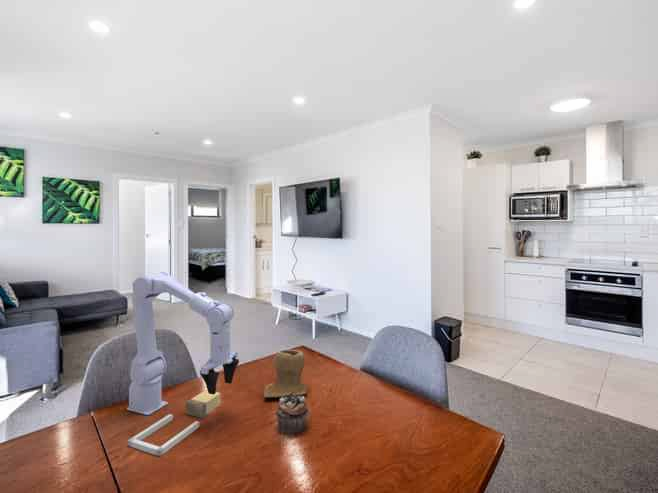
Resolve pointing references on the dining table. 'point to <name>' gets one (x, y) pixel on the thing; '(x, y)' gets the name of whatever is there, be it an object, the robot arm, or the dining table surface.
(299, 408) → the cupcake
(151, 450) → the end holder
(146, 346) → the robot arm
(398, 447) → the dining table surface
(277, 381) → the stone cup
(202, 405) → the block
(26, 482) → the dining table surface
